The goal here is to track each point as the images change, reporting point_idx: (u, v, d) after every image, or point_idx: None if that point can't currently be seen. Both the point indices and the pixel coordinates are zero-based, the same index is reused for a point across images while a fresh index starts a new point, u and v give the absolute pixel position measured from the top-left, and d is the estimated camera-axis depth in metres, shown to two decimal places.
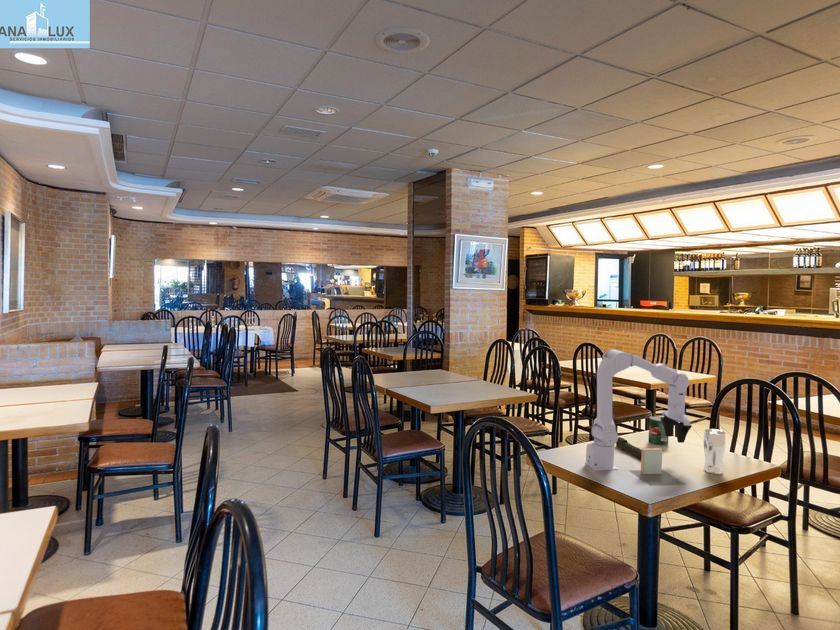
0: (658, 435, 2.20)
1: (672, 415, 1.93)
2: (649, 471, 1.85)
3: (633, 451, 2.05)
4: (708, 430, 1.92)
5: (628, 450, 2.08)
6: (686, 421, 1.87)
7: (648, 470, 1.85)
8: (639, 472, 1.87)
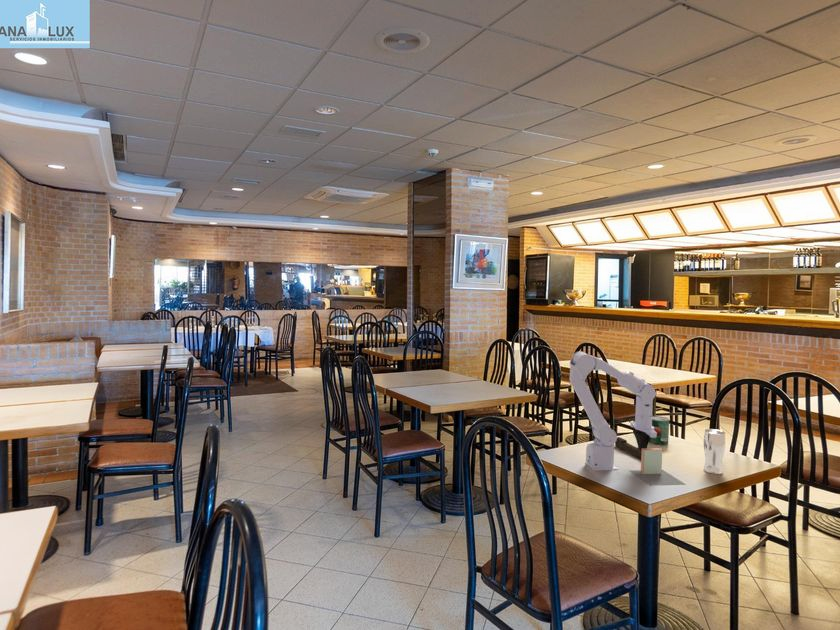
0: (658, 435, 2.20)
1: (639, 427, 1.89)
2: (649, 471, 1.85)
3: (633, 451, 2.05)
4: (708, 430, 1.92)
5: (628, 450, 2.08)
6: (652, 433, 1.84)
7: (648, 470, 1.85)
8: (639, 472, 1.87)
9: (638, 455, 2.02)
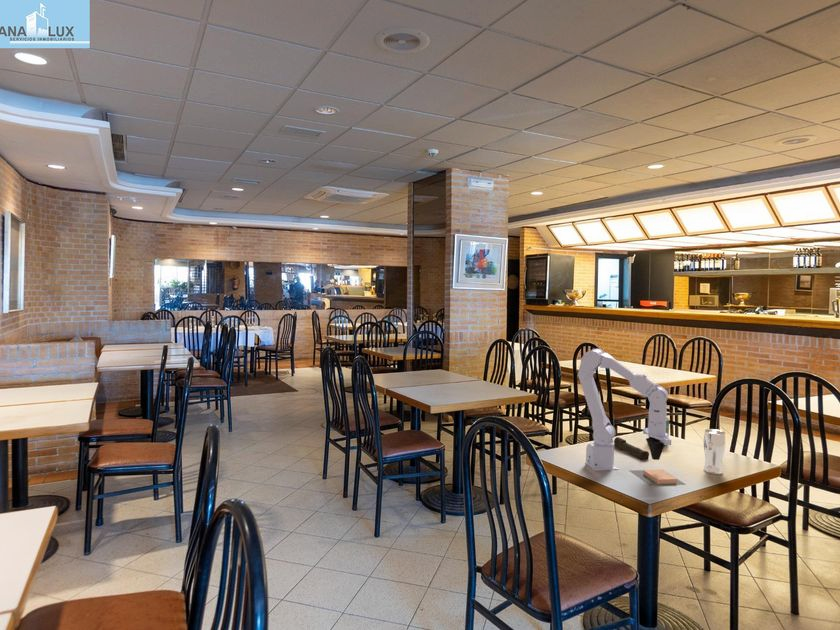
0: None
1: (652, 434, 1.81)
2: None
3: (633, 451, 2.05)
4: (708, 430, 1.92)
5: (628, 450, 2.08)
6: (667, 441, 1.75)
7: None
8: (639, 472, 1.87)
9: (638, 455, 2.02)
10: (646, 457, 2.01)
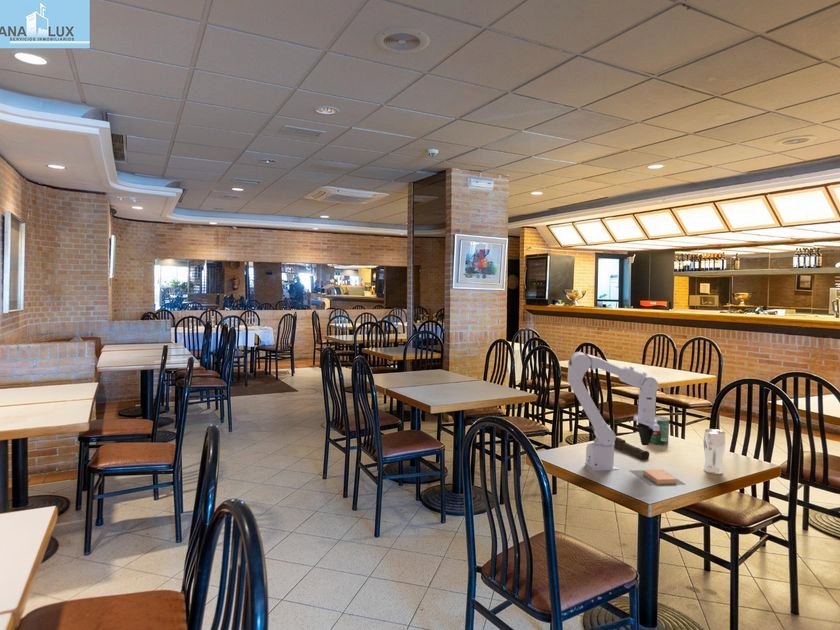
0: (658, 435, 2.20)
1: (642, 420, 1.87)
2: None
3: (633, 451, 2.05)
4: (708, 430, 1.92)
5: (628, 450, 2.08)
6: (655, 426, 1.82)
7: None
8: (639, 472, 1.87)
9: (639, 455, 2.02)
10: (646, 457, 2.01)
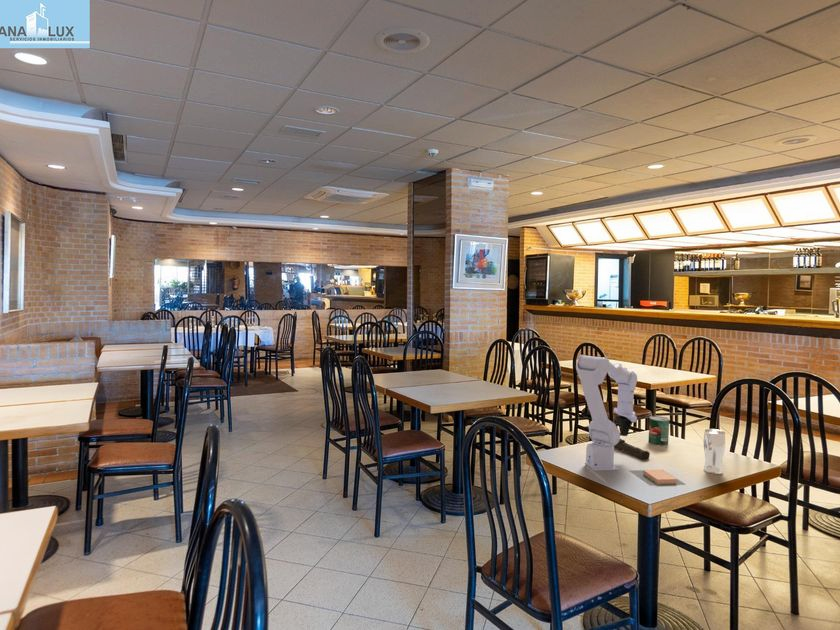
0: (658, 435, 2.20)
1: (621, 412, 1.99)
2: None
3: (634, 451, 2.05)
4: (708, 430, 1.92)
5: (628, 450, 2.08)
6: (633, 418, 1.94)
7: None
8: (639, 472, 1.87)
9: (639, 455, 2.02)
10: (647, 457, 2.01)
